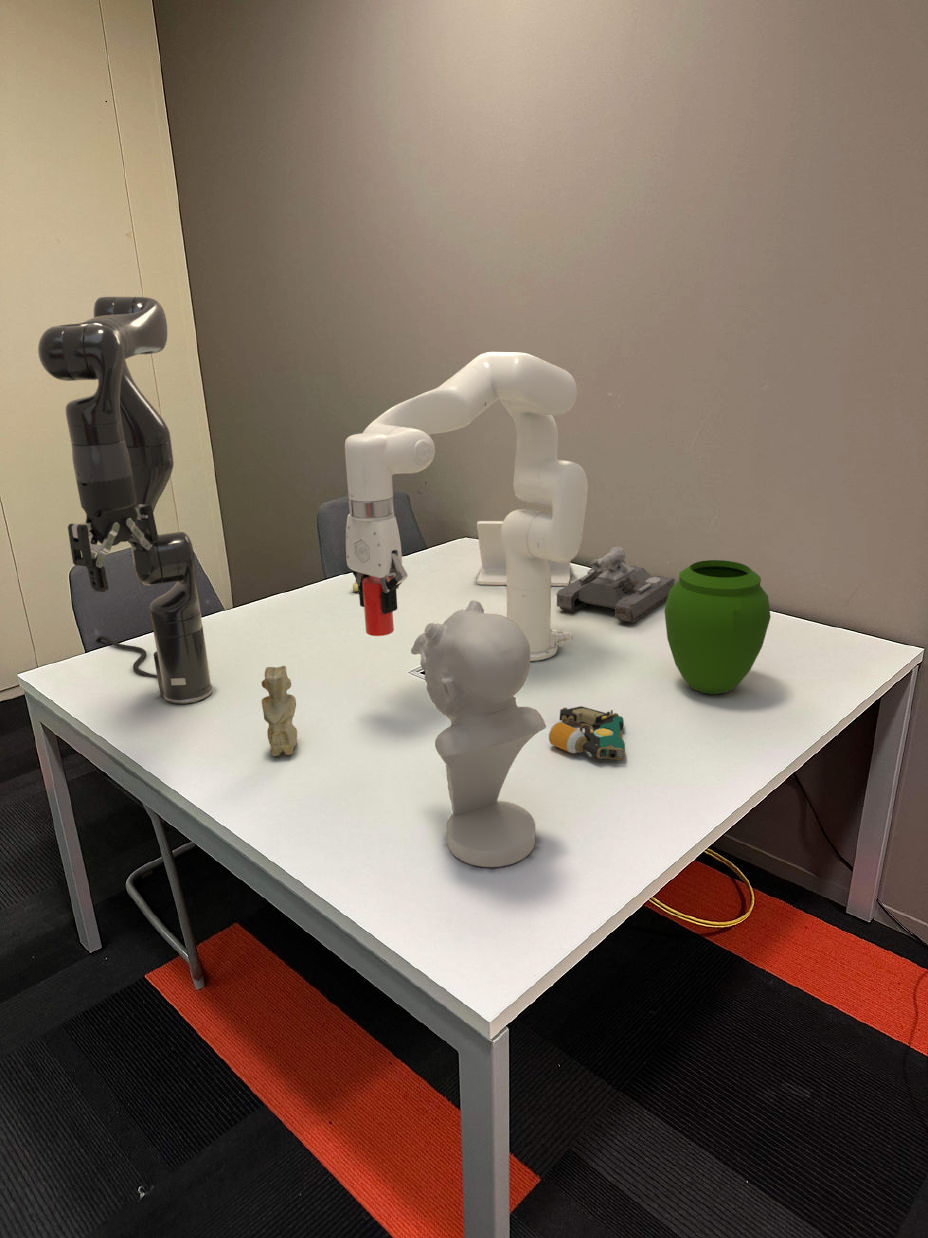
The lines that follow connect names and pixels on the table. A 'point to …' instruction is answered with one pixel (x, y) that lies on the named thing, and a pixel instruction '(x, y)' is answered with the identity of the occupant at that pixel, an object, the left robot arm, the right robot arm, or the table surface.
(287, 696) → the sculpture
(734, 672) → the vase
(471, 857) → the bust sculpture
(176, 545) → the left robot arm
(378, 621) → the canister
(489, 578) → the tablet stand
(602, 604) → the toy
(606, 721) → the spray gun
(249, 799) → the table surface
